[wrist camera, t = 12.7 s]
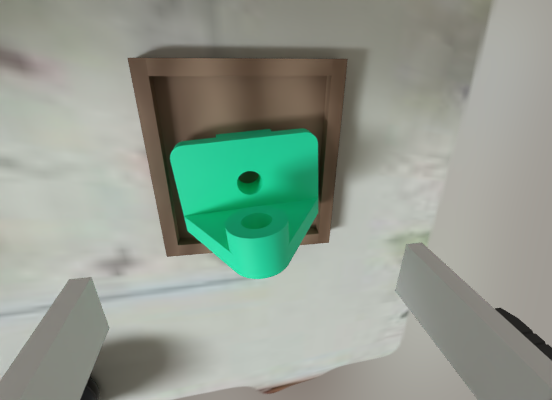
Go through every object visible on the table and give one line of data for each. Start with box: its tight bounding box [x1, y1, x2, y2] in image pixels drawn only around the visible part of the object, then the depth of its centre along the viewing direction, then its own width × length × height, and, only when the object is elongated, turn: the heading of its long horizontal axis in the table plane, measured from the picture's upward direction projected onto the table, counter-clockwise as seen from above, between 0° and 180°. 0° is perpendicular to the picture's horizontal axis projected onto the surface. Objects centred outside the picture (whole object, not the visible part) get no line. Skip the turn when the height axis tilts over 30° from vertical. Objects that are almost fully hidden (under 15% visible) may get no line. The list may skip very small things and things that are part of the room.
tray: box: [128, 58, 347, 257], centre depth 26 cm, size 16×17×2 cm
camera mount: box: [170, 128, 318, 279], centre depth 22 cm, size 12×8×10 cm, turn 94°
